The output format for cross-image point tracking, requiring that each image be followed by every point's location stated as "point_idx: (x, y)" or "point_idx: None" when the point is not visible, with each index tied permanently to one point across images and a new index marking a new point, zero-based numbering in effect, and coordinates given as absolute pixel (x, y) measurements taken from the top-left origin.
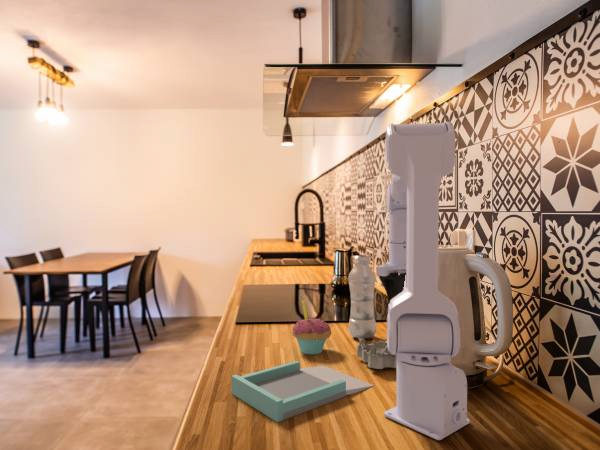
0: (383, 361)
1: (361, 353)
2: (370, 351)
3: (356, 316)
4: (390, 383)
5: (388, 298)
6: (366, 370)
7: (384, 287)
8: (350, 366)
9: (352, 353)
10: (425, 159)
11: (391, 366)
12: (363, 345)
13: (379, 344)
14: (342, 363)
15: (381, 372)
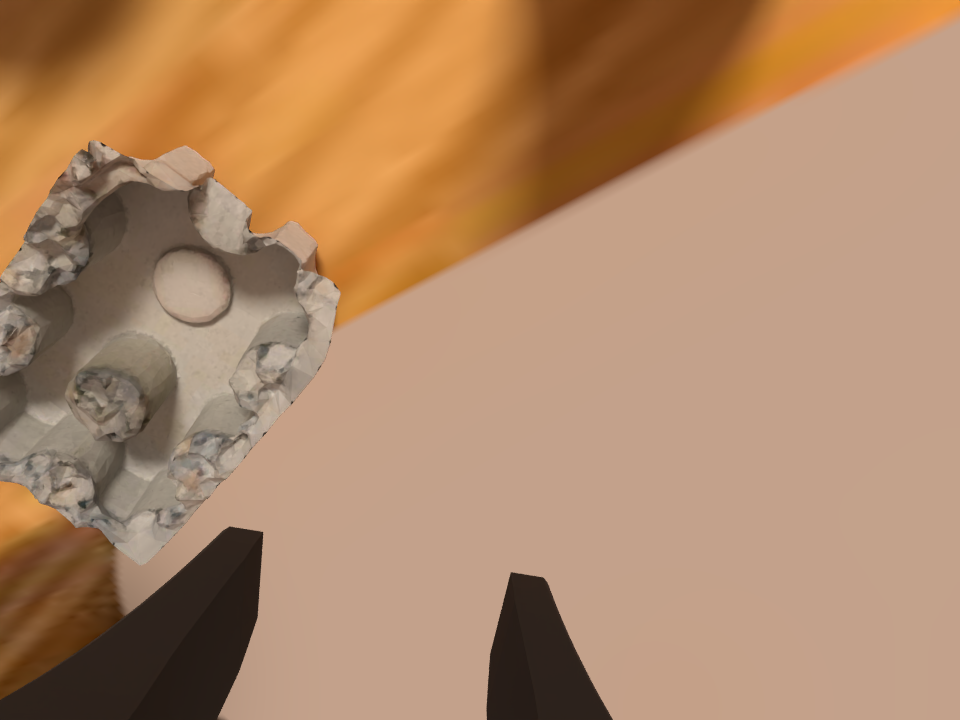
0: (65, 430)
1: (112, 210)
2: (9, 365)
3: None
4: (15, 487)
5: (154, 598)
6: None
7: (6, 699)
8: (10, 191)
9: (228, 34)
10: None
11: (124, 446)
12: (16, 290)
13: (306, 261)
14: (3, 111)
15: None
